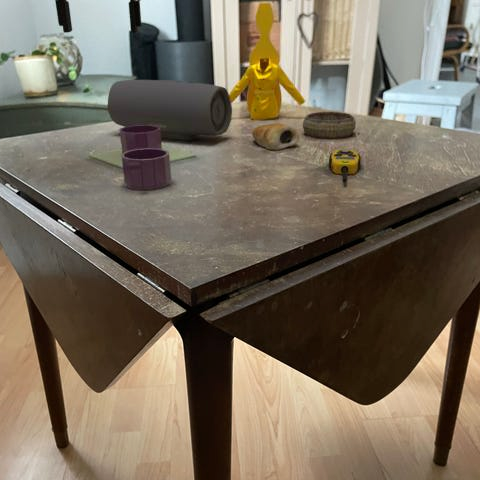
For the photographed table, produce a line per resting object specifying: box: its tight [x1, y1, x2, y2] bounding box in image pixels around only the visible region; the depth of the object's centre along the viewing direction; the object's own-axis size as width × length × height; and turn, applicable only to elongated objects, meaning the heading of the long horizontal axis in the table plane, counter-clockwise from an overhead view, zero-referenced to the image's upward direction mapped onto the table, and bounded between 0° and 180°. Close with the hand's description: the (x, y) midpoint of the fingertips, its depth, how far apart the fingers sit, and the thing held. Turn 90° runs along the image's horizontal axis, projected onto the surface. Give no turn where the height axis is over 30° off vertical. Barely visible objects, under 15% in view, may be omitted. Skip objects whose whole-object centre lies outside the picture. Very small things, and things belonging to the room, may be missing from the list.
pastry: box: [251, 122, 300, 151], centre depth 97 cm, size 9×7×4 cm
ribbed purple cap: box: [121, 148, 172, 191], centre depth 77 cm, size 7×7×4 cm
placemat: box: [88, 144, 197, 169], centre depth 91 cm, size 13×13×1 cm
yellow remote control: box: [328, 149, 362, 183], centre depth 81 cm, size 5×2×15 cm
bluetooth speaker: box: [107, 79, 233, 141], centre depth 102 cm, size 23×9×10 cm, turn 62°
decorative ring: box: [302, 111, 357, 139], centre depth 104 cm, size 10×3×10 cm
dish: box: [118, 125, 163, 154], centre depth 90 cm, size 7×7×4 cm
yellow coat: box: [228, 2, 306, 121], centre depth 114 cm, size 18×8×22 cm, turn 88°
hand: (101, 32), depth 79 cm, fingers open, 9 cm apart
